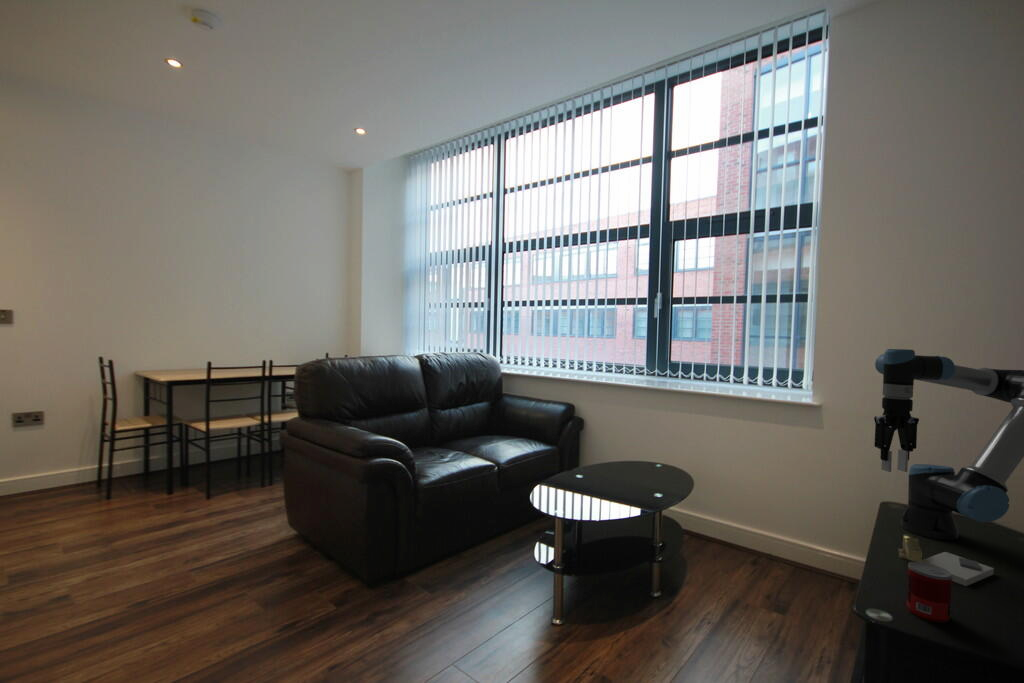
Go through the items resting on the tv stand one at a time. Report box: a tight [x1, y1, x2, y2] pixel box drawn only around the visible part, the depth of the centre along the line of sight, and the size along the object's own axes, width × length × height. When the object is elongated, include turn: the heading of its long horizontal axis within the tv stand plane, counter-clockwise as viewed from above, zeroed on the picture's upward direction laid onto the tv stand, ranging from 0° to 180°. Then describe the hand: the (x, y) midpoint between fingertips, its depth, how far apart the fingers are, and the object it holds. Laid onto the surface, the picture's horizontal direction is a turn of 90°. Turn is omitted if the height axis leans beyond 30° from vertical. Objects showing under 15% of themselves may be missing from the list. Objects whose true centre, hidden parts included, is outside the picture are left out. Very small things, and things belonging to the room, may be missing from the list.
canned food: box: [906, 561, 953, 624], centre depth 115 cm, size 8×8×11 cm
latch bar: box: [902, 534, 923, 562], centre depth 141 cm, size 12×4×5 cm, turn 146°
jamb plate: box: [898, 548, 908, 560], centre depth 145 cm, size 5×5×1 cm
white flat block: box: [922, 551, 995, 587], centre depth 137 cm, size 16×11×3 cm
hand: (894, 470), depth 151 cm, fingers open, 5 cm apart
